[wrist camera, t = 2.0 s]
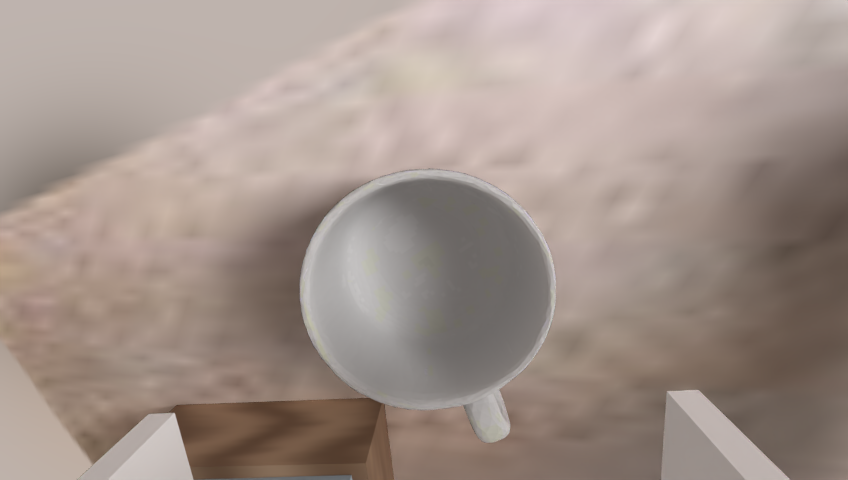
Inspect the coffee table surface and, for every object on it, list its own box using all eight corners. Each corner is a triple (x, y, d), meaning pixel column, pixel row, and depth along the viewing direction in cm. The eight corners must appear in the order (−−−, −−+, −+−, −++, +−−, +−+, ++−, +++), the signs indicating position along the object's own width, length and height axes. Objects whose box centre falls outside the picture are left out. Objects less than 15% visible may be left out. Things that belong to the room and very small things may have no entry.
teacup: (324, 184, 23) (262, 206, 15) (505, 140, 22) (535, 138, 14) (385, 385, 26) (358, 487, 19) (546, 357, 25) (590, 453, 17)
